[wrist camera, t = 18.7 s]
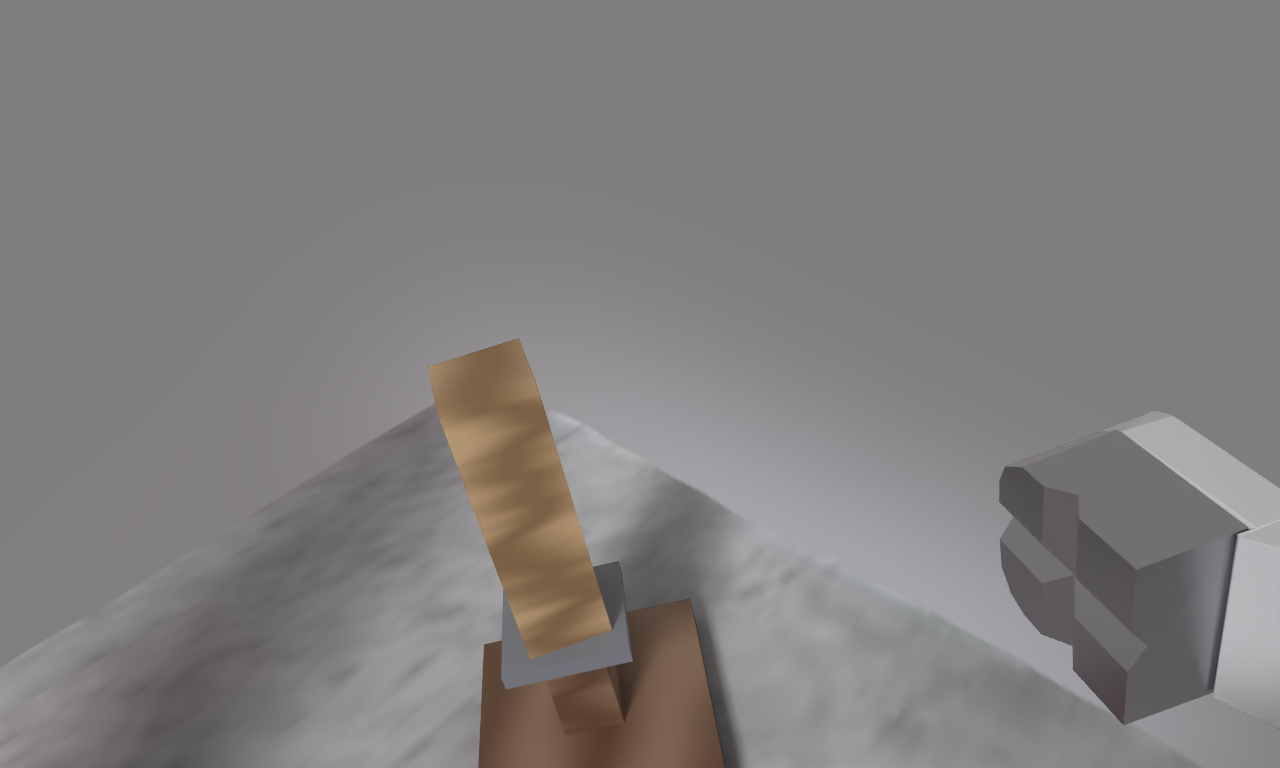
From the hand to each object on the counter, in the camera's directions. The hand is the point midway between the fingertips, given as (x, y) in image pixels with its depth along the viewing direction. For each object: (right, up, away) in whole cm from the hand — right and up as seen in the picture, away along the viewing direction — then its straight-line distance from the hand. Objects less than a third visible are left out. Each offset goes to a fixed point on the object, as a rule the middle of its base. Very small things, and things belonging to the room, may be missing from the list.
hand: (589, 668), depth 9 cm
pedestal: (-2, -15, +43) cm, 46 cm away
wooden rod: (-3, -9, +39) cm, 40 cm away
